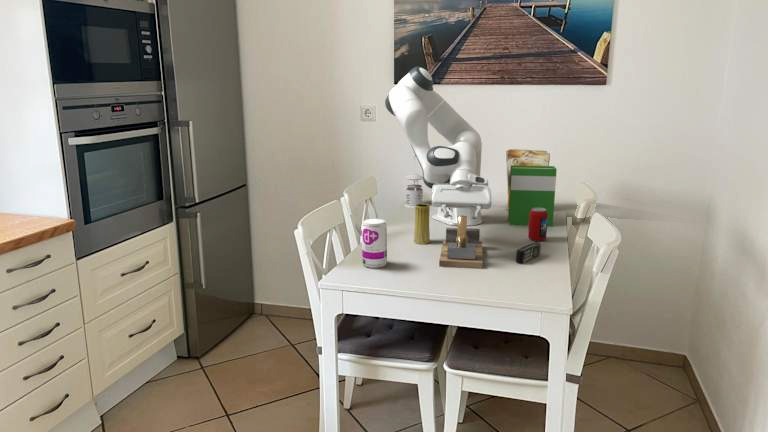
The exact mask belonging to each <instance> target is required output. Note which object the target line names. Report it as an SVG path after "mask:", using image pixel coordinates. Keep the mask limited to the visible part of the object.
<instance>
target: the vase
mask: <svg viewBox="0 0 768 432" xmlns="http://www.w3.org/2000/svg"><path fill="white" fill-rule="evenodd" d="M414 210H415V211H414V235H413V236H414V237H413V238H414V239H413V243H414V242H415V243H414V244H418V245H427V244H429V243H431V239H430V237H431V236H430V234H431V233H430V205H429V204H428V203H422V204H416V205H415V208H414Z"/></svg>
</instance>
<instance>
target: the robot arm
mask: <svg viewBox="0 0 768 432" xmlns="http://www.w3.org/2000/svg"><path fill="white" fill-rule="evenodd" d="M395 85H396V86H394V87H392V89H390V91H389V93H388V95H387V96H386V98H385V101H384V102H385V104H384V105H385V108H386V110H387V111H388V112H389V113H390V114H391V115H393V116H394V117H396V120H397V121H398V123H399V125H400V127H401V128H402V130H403V132H404V134H405V135H406V138H407V140H408V142H409V145H410V146H411V148H412V151H413V154H415V155H416V156H415V158H416V159H417V161H418V163H419V165H420V168H421V169H422V170H421V171H422V177H423V179H422V181H423V183H424V185H425V186H426V187H427V188H429V189H431V192H432V195H431V206H433V208H437V213H435V214H433V215H432V216H431V218H432V219H433V220H436V221H438V222H441V223H444V224H447V225H449V226H458V216H460V215H464V216H467V226H476V225H481V224H482V223H483V219H482V218H483V217H482V212H481V210H490V209H491V208H492V192H491V188H490V186H489V180H488V179H487V178H485V177H482V176H481V166H482V150H483V149H482V147H483V145H482V144H483V142H482V138H481V136H480V134H479V132H478V131H477V130H476V129H475V128H474V127H473V126H472V125H470V123H469V122H467V121H466V120H465V119H464V118H463V117H462V116H461V115H460V114H459V113H458V112H457V111H456V110H455V109H454V108H453V106H451V105H450V104H449V103H448V101H446V100H445V99H444V98H443V97H442V95H441V94H439V93H437V91H435V90H434V79H433V77H432V75H431V74H430V72H429V71H428V70H426V69H425V68H423V67H422V66H414V67H413V68H412V69H410V70H409V72H408V73H407V74H405V75H404V76H403V77H402V78H401V79H400V80H399V81H398V82H397V84H395ZM429 125H430V126H431V127H432V128H433V129H434V130H435V131H436V132H437V133H438V134H440V135H441V136H442V137H443V138H444V139H445V140H446V141H447V142H449V144H451V145H449V146H448V145H447V146H443V145H436V146H433V147H431V146H430V143H429V137H428V136H429V135H428V134H429V133H428V129H429Z"/></svg>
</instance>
